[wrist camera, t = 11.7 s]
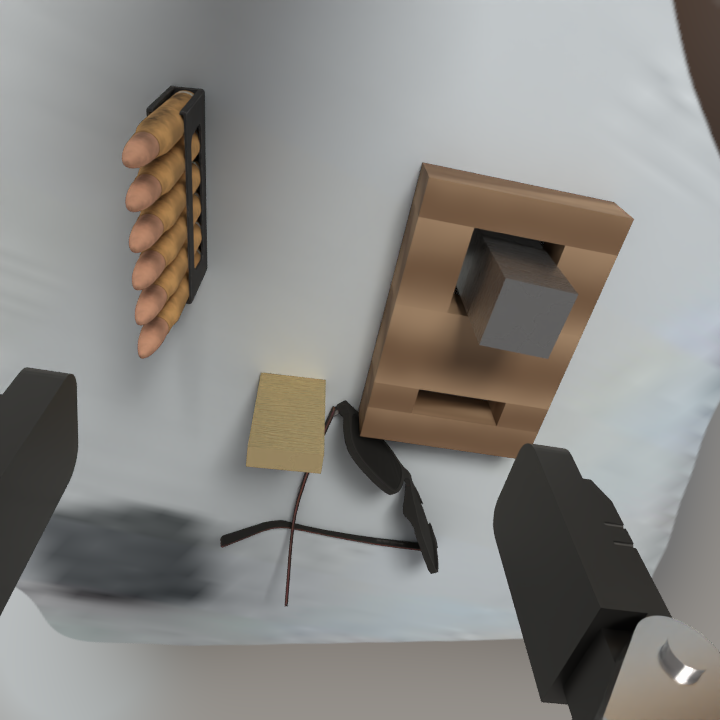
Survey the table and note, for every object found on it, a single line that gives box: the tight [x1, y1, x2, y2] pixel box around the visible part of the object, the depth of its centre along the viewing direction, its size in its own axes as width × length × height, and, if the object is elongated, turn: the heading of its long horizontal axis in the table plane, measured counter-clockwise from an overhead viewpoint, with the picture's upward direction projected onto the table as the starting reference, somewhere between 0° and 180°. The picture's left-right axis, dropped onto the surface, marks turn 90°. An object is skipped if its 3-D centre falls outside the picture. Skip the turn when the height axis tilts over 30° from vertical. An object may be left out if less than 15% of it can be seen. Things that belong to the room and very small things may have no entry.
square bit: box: [456, 228, 578, 359], centre depth 37 cm, size 4×4×8 cm
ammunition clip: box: [122, 86, 207, 359], centre depth 32 cm, size 11×2×12 cm, turn 174°
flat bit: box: [246, 373, 326, 474], centre depth 41 cm, size 2×4×8 cm, turn 81°
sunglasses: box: [220, 400, 438, 606], centre depth 49 cm, size 17×14×5 cm
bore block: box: [359, 163, 634, 459], centre depth 41 cm, size 18×12×3 cm, turn 168°
